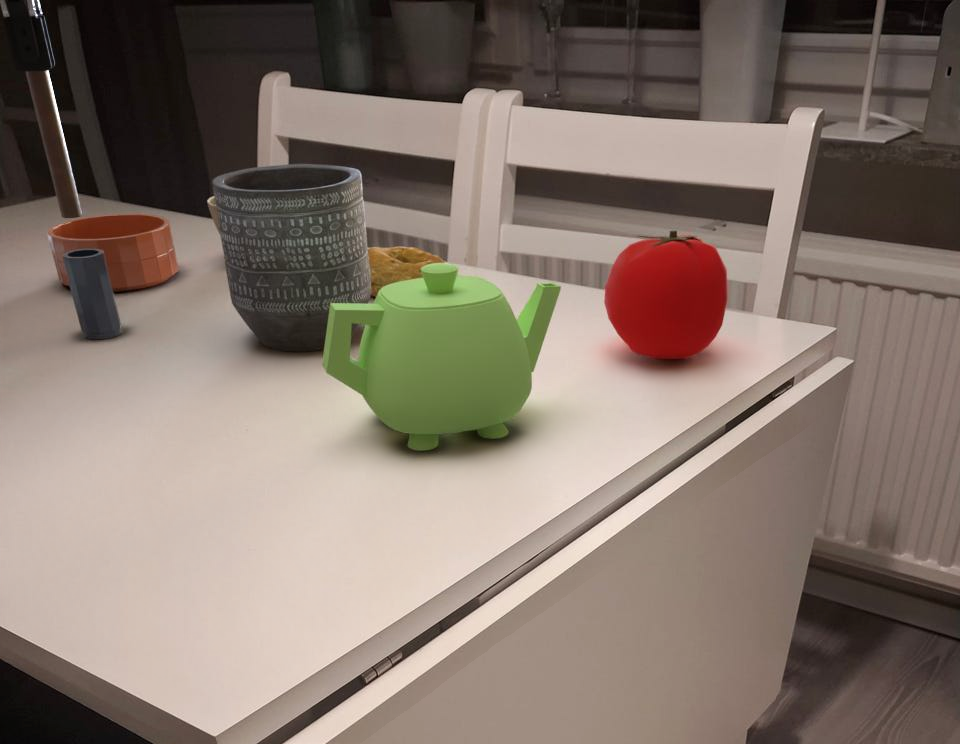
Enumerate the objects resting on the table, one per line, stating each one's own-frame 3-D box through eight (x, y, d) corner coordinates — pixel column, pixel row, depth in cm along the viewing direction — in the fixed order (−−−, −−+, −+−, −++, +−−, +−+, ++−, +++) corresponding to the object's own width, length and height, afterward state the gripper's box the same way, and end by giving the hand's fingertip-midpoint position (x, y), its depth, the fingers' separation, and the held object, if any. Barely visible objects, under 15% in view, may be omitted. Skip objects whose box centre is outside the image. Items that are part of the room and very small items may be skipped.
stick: (60, 219, 100) (5, -4, 89) (62, 214, 102) (8, -5, 91) (81, 217, 100) (28, -5, 89) (83, 213, 102) (31, -6, 91)
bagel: (414, 308, 112) (411, 262, 109) (342, 294, 117) (337, 250, 114) (468, 288, 118) (467, 244, 115) (397, 275, 123) (394, 232, 121)
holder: (82, 341, 105) (60, 259, 100) (84, 329, 109) (64, 250, 104) (121, 337, 106) (102, 256, 101) (123, 326, 109) (104, 247, 104)
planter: (211, 339, 105) (181, 178, 96) (319, 309, 113) (301, 158, 103) (293, 369, 97) (269, 197, 88) (403, 334, 105) (392, 173, 95)
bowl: (56, 299, 118) (41, 244, 115) (66, 269, 129) (53, 218, 126) (179, 288, 121) (168, 234, 117) (178, 260, 132) (169, 210, 128)
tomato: (703, 380, 92) (718, 249, 85) (585, 365, 96) (590, 238, 89) (734, 341, 100) (750, 219, 94) (624, 329, 104) (632, 211, 97)
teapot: (526, 383, 92) (527, 234, 85) (589, 434, 82) (597, 271, 75) (314, 415, 87) (294, 259, 79) (353, 475, 77) (335, 303, 69)
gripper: (-59, -190, 87) (5, 63, 99) (-98, -212, 75) (-20, 79, 87) (31, -189, 89) (84, 60, 100) (8, -210, 77) (71, 76, 88)
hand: (35, 67), depth 93 cm, fingers closed on stick, 2 cm apart
